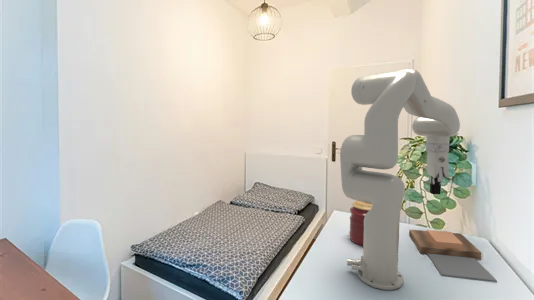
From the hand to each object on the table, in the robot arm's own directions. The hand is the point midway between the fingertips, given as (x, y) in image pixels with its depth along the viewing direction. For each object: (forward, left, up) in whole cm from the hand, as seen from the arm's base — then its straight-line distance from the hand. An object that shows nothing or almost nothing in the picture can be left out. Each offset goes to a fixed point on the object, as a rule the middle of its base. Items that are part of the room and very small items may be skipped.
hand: (435, 193), depth 104 cm
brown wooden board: (0, -10, -17) cm, 20 cm away
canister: (-26, -10, -18) cm, 33 cm away
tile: (0, -11, -15) cm, 19 cm away
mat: (0, -24, -17) cm, 29 cm away
